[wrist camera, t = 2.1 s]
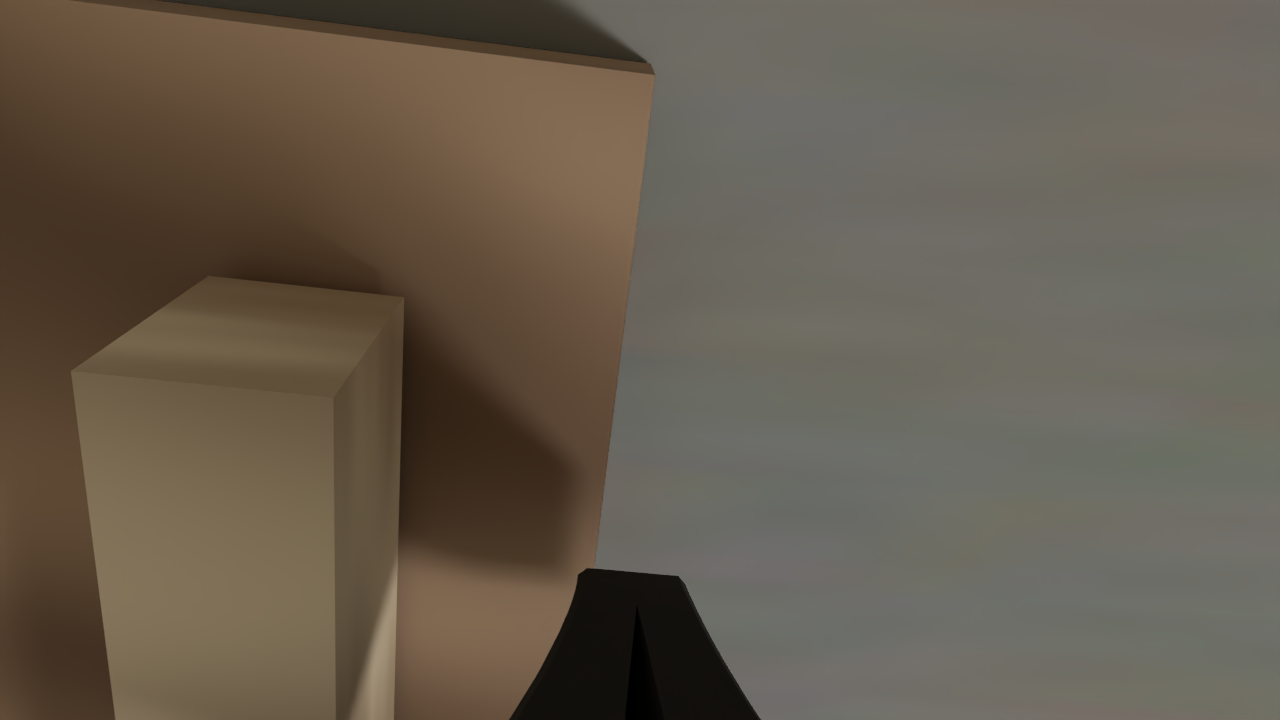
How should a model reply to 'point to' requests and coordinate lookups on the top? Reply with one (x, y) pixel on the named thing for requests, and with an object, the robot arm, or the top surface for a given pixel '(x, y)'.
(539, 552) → the stool seat
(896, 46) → the top surface
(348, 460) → the folding leg
